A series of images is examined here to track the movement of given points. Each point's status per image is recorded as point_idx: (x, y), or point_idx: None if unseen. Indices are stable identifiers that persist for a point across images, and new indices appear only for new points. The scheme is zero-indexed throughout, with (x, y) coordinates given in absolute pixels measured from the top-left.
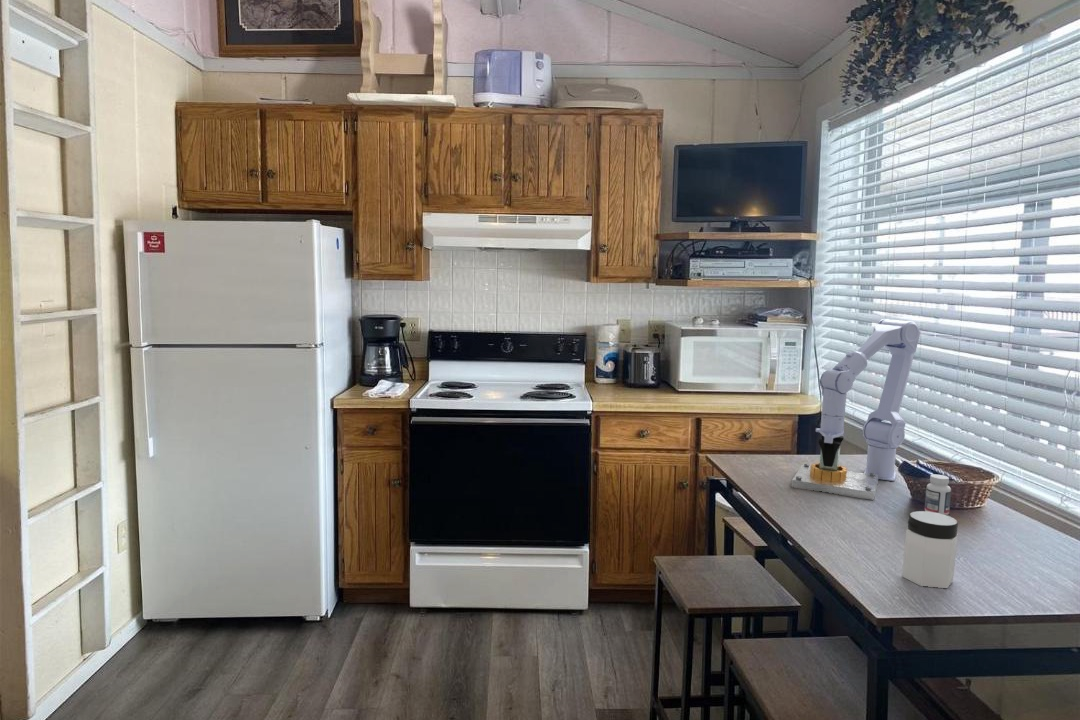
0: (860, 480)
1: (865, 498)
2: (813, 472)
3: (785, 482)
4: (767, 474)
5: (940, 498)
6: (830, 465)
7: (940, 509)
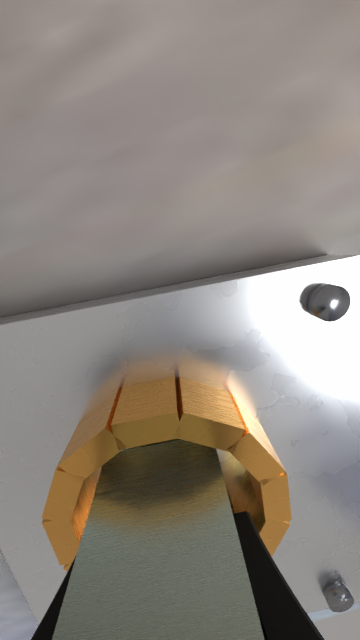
0: None
1: None
2: (74, 437)
3: (7, 266)
4: (93, 87)
5: None
6: None
7: None
